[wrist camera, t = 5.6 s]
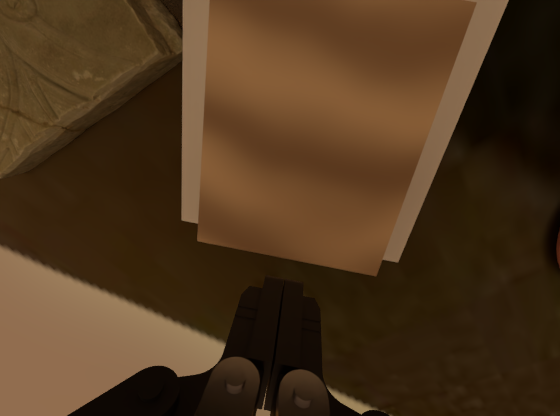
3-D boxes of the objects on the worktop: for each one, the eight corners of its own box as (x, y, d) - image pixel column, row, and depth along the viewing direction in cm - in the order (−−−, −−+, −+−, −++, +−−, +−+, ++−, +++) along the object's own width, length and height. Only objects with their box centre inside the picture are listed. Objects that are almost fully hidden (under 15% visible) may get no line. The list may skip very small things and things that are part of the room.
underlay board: (198, -225, 13) (184, -261, 11) (562, -172, 12) (593, -202, 11) (189, 211, 22) (181, 220, 21) (392, 250, 22) (397, 262, 20)
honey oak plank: (221, -30, 14) (211, -42, 13) (460, 10, 14) (476, 2, 13) (204, 230, 20) (197, 241, 19) (371, 263, 20) (376, 276, 19)
